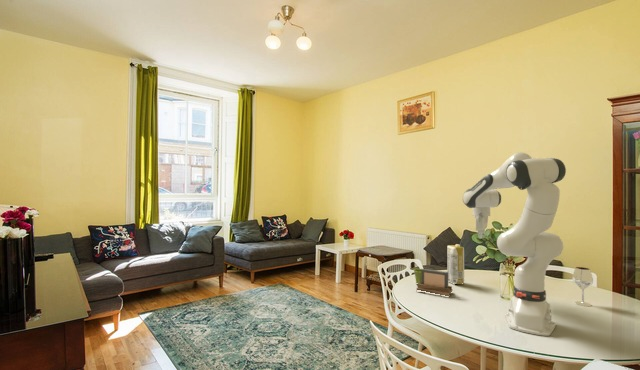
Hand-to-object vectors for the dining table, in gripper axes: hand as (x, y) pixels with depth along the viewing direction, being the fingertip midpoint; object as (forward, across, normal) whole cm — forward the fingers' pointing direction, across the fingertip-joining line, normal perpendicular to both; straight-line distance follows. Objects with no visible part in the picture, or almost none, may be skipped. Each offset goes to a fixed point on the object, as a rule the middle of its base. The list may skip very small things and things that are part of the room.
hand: (481, 237), depth 180 cm
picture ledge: (+31, -12, +23) cm, 40 cm away
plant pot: (+31, -2, +33) cm, 45 cm away
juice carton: (+31, +13, +16) cm, 37 cm away
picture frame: (+29, -12, +22) cm, 39 cm away
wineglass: (+31, +10, -45) cm, 56 cm away
